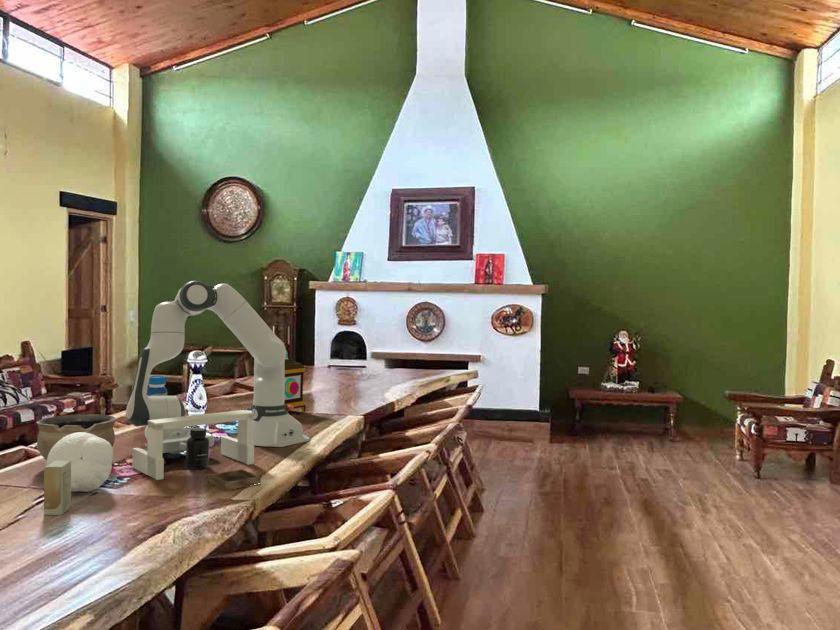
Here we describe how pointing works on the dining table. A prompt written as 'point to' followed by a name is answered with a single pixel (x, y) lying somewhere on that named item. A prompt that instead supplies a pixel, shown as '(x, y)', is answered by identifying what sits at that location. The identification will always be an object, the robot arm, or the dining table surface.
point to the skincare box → (57, 487)
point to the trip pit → (233, 479)
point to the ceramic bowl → (73, 429)
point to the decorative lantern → (293, 383)
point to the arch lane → (230, 447)
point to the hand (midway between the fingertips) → (192, 447)
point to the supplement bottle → (197, 449)
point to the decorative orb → (84, 459)
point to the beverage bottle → (157, 386)
